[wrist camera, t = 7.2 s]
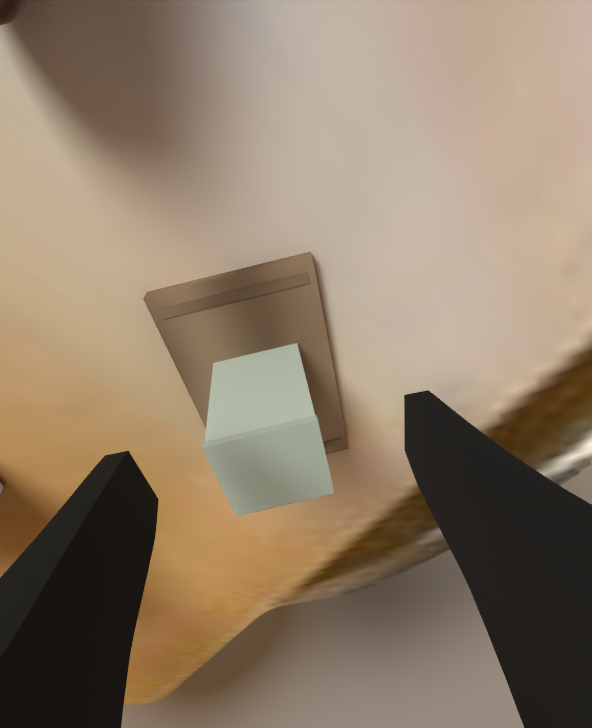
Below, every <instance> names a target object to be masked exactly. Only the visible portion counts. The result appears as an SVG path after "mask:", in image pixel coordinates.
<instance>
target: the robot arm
mask: <svg viewBox="0 0 592 728" xmlns="http://www.w3.org/2000/svg"><path fill="white" fill-rule="evenodd" d="M404 397H405V452H406V455H407V457H408V460H409V463H410V466H411V468H412V471H413V474H414V476H415V479H416V481H417V484H418V486H419V488H420V490H421V492H422V494H423V496H424V498H425V500H426V502H427V504H428V506H429V508H430V510H431V512H432V514H433V516H434V518H435V520H436V522H437V524H438V526H439V528H440V530H441V532H442V534H443V536H444V537H445V539H446V541H447V543H448V545H449V547H450V549H451V551H452V553H453V555H454V557H455V559H456V561H457V563H458V565H459V566H460V569H461V571H462V573H463V575H464V577H465V579H466V581H467V583H468V586H469V588H470V590H471V593H472V595H473V597H474V600H475V602H476V605H477V607H478V610H479V612H480V615H481V617H482V619H483V622H484V624H485V627H486V629H487V632H488V634H489V637H490V639H491V642H492V644H493V647H494V650H495V652H496V655H497V657H498V660H499V662H500V665H501V667H502V670H503V672H504V675H505V677H506V680H507V683H508V685H509V688H510V691H511V693H512V696H513V699H514V701H515V704H516V707H517V709H518V712H519V715H520V717H521V720H522V722H523V725H524V728H592V505H591V504H589V503H587V502H586V501H584V500H582V499H581V498H579V497H577V496H576V495H574V494H572V493H571V492H569V491H567V490H565V489H564V488H562V487H561V486H559V485H557V484H556V483H554V482H553V481H551V480H549V479H548V478H546V477H545V476H543V475H542V474H540V473H539V472H537V471H536V470H534V469H533V468H531V467H530V466H528V465H527V464H525V463H524V462H522V461H521V460H519V459H518V458H516V457H515V456H514V455H512V454H511V453H509V452H508V451H506V450H505V449H504V448H502V447H501V446H500V445H498V444H497V443H495V442H494V441H493V440H491V439H490V438H489V437H487V436H486V435H485V434H483V433H482V432H480V431H479V430H478V429H477V428H475V427H474V426H473V425H471V424H470V423H469V422H467V421H466V420H465V419H464V418H462V417H461V416H460V415H459V414H457V413H456V412H455V411H454V410H452V409H451V408H450V407H449V406H447V405H446V404H445V403H444V402H442V401H441V400H440V399H439V398H437V397H436V396H435V395H434V394H432V393H431V392H430V391H428V390H427V391H423V392H418V393H413V394H408V395H404ZM2 490H3V485H2V484H1V483H0V493H1V492H2ZM157 511H158V498H157V496H156V495H155V493H154V491H153V490H152V488H151V487H150V485H149V483H148V482H147V480H146V479H145V477H144V475H143V474H142V472H141V470H140V469H139V467H138V466H137V464H136V462H135V461H134V459H133V458H132V456H131V454H130V453H129V451H125V452H120V453H115V454H110V455H105V456H104V458H103V459H102V460H101V461H100V462H99V463H98V464H97V465H96V467H95V468H94V469H93V470H92V471H91V473H90V474H89V475H88V476H87V477H86V479H85V480H84V481H83V482H82V483H81V485H80V486H79V487H78V488H77V489H76V491H75V492H74V493H73V494H72V496H71V497H70V498H69V499H68V500H67V502H66V503H65V504H64V505H63V506H62V508H61V509H60V510H59V511H58V512H57V514H56V515H55V516H54V517H53V518H52V520H51V521H50V522H49V523H48V524H47V526H46V527H45V528H44V529H43V530H42V532H41V533H40V534H39V535H38V536H37V537H36V539H35V540H34V541H33V542H32V543H31V544H30V545H29V546H28V548H27V549H26V550H25V551H24V552H23V553H22V554H21V555H20V557H19V558H18V559H17V560H16V561H15V562H14V563H13V564H12V565H11V567H10V568H9V569H8V570H7V571H6V572H5V573H4V574H3V576H2V577H1V578H0V728H121V722H122V712H123V704H124V696H125V688H126V681H127V673H128V665H129V658H130V652H131V647H132V641H133V636H134V631H135V627H136V622H137V618H138V613H139V609H140V604H141V600H142V595H143V591H144V586H145V582H146V578H147V573H148V569H149V564H150V559H151V555H152V550H153V545H154V540H155V533H156V523H157Z"/></svg>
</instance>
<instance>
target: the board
mask: <svg viewBox="0 0 592 728" xmlns="http://www.w3.org/2000/svg"><path fill="white" fill-rule="evenodd" d="M144 301H145V303H146V305H147V307H148V309H149V312H150V314H151V316H152V318H153V320H154V322H155V324H156V326H157V328H158V330H159V332H160V334H161V336H162V338H163V340H164V343H165V345H166V347H167V349H168V351H169V353H170V355H171V357H172V359H173V361H174V363H175V365H176V367H177V369H178V371H179V374H180V376H181V378H182V380H183V382H184V384H185V386H186V388H187V390H188V392H189V394H190V396H191V398H192V400H193V402H194V405H195V407H196V409H197V411H198V413H199V415H200V417H201V419H202V421H203V423H204V425H205V427H206V424H207V416H208V407H209V398H210V389H211V380H212V371H213V363H216V362H220V361H224V360H228V359H232V358H236V357H241V356H245V355H249V354H253V353H257V352H262V351H266V350H270V349H274V348H278V347H282V346H287V345H291V344H295V343H297V344H298V348H299V352H300V356H301V360H302V364H303V368H304V372H305V376H306V380H307V384H308V389H309V393H310V397H311V401H312V405H313V409H314V413H315V415H317V419H318V423H319V428H320V432H321V436H322V441H323V445H324V449H325V453H326V454H328V453H333V452H337V451H341V450H345V449H349V448H348V443H347V437H346V432H345V427H344V421H343V416H342V411H341V405H340V400H339V395H338V389H337V384H336V379H335V373H334V368H333V363H332V358H331V352H330V347H329V342H328V336H327V331H326V326H325V320H324V315H323V310H322V304H321V299H320V294H319V288H318V283H317V278H316V272H315V267H314V262H313V257H312V255H311V253H310V252H307V253H303V254H299V255H295V256H291V257H287V258H283V259H279V260H275V261H271V262H267V263H263V264H259V265H254V266H250V267H246V268H242V269H238V270H234V271H230V272H226V273H222V274H218V275H214V276H210V277H206V278H202V279H198V280H194V281H190V282H185V283H181V284H177V285H173V286H169V287H165V288H161V289H157V290H153V291H149V292H147V293H146V295H145V297H144Z"/></svg>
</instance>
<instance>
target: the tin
mask: <svg viewBox="0 0 592 728" xmlns="http://www.w3.org/2000/svg"><path fill="white" fill-rule="evenodd" d="M28 1H29V0H0V25H2V24H6V23H9V22H11V21H13V20H14V19H15V18H16V17H17V16H19V15H20V13H21V12H22V11H23V9H24V7H25V6H26V4H27V3H28Z"/></svg>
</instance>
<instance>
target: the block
mask: <svg viewBox="0 0 592 728" xmlns="http://www.w3.org/2000/svg"><path fill="white" fill-rule="evenodd" d="M202 448H203V450H204V452H205V454H206V456H207V458H208V460H209V462H210V464H211V466H212V468H213V470H214V472H215V475H216V477H217V479H218V481H219V483H220V485H221V487H222V489H223V491H224V493H225V495H226V497H227V499H228V501H229V503H230V505H231V507H232V509H233V511H234V513H235V515H236V517H237V516H241V515H245V514H249V513H254V512H258V511H262V510H266V509H271V508H275V507H279V506H283V505H288V504H292V503H296V502H300V501H304V500H309V499H313V498H317V497H321V496H326V495H330V494H334V493H335V492H334V488H333V483H332V479H331V475H330V471H329V466H328V462H327V458H326V453H325V449H324V445H323V441H322V436H321V432H320V428H319V423H318V419H317V415H315V413H314V409H313V405H312V401H311V397H310V393H309V389H308V384H307V380H306V376H305V372H304V368H303V364H302V360H301V356H300V352H299V348H298V344H297V343H295V344H291V345H287V346H282V347H278V348H274V349H270V350H266V351H262V352H257V353H253V354H249V355H245V356H241V357H236V358H232V359H228V360H224V361H220V362H216V363H213V371H212V380H211V389H210V398H209V407H208V416H207V424H206V433H205V442H203V445H202Z"/></svg>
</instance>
